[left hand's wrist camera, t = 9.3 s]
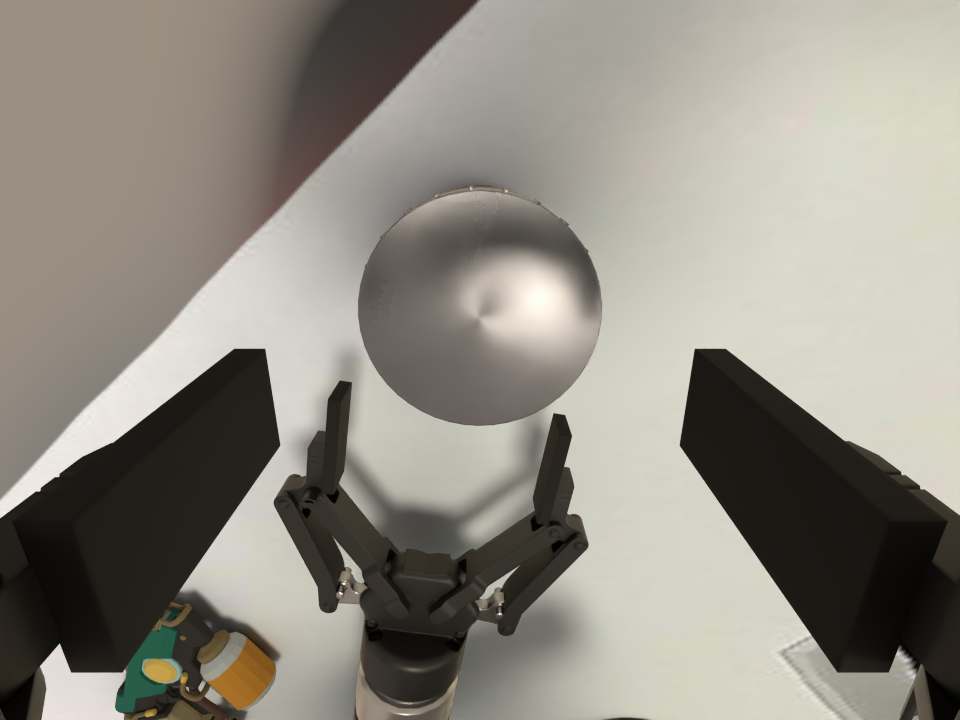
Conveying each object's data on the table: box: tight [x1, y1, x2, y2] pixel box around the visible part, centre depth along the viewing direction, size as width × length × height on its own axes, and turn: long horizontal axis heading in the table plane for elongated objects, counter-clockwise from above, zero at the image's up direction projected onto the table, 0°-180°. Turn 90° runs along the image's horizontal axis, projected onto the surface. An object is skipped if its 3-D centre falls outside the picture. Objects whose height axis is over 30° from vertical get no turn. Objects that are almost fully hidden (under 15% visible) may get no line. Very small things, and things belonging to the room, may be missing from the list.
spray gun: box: [115, 602, 276, 720], centre depth 46 cm, size 4×17×15 cm
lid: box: [358, 185, 602, 426], centre depth 21 cm, size 9×9×2 cm
